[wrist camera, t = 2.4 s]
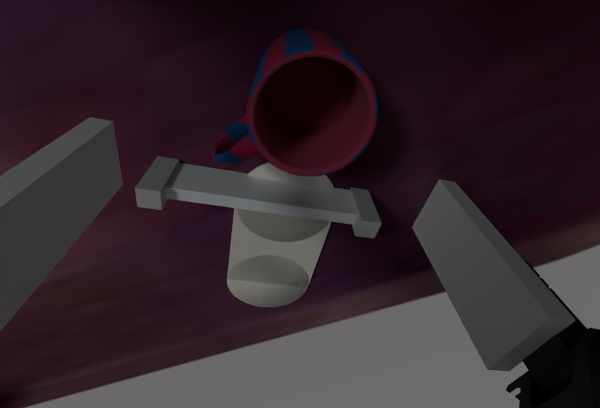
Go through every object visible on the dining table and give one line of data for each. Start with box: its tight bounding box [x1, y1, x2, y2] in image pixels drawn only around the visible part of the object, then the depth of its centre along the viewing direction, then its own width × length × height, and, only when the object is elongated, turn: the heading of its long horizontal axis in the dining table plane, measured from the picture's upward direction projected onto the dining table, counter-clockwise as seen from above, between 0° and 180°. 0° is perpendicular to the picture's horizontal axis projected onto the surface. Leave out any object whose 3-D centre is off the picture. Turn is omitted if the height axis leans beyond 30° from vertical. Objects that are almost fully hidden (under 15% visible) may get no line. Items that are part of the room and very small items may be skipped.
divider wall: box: [135, 156, 382, 238], centre depth 23 cm, size 2×18×4 cm, turn 78°
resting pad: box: [227, 162, 334, 307], centre depth 30 cm, size 20×9×1 cm, turn 168°
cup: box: [212, 28, 378, 177], centre depth 18 cm, size 7×10×7 cm
